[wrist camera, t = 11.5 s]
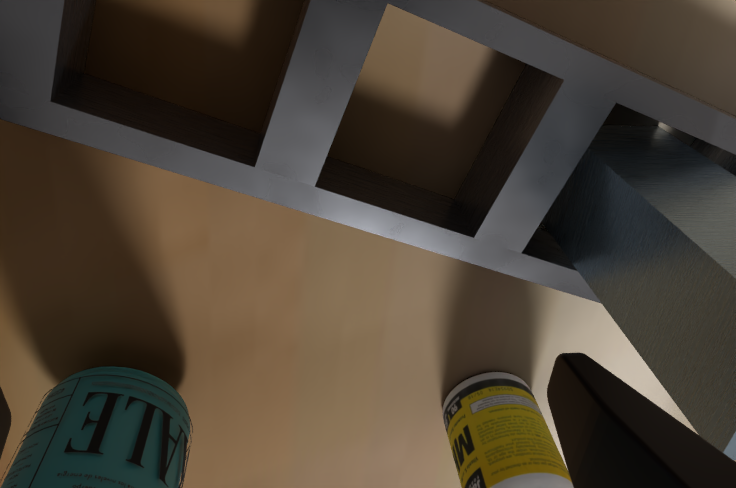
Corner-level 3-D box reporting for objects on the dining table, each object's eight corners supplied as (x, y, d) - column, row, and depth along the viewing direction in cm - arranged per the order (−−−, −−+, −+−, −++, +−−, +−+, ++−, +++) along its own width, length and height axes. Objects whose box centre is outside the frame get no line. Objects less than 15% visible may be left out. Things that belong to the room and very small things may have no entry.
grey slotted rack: (14, 80, 19) (-30, 109, 16) (44, -203, 15) (-7, -222, 12) (635, 283, 26) (671, 324, 23) (755, 125, 22) (814, 155, 20)
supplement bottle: (437, 377, 28) (484, 543, 21) (531, 361, 28) (610, 520, 21) (443, 441, 30) (487, 607, 23) (530, 425, 31) (600, 587, 23)
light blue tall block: (537, 216, 24) (726, 472, 13) (560, 124, 21) (806, 340, 11) (628, 216, 24) (879, 463, 14) (658, 126, 22) (982, 335, 12)
